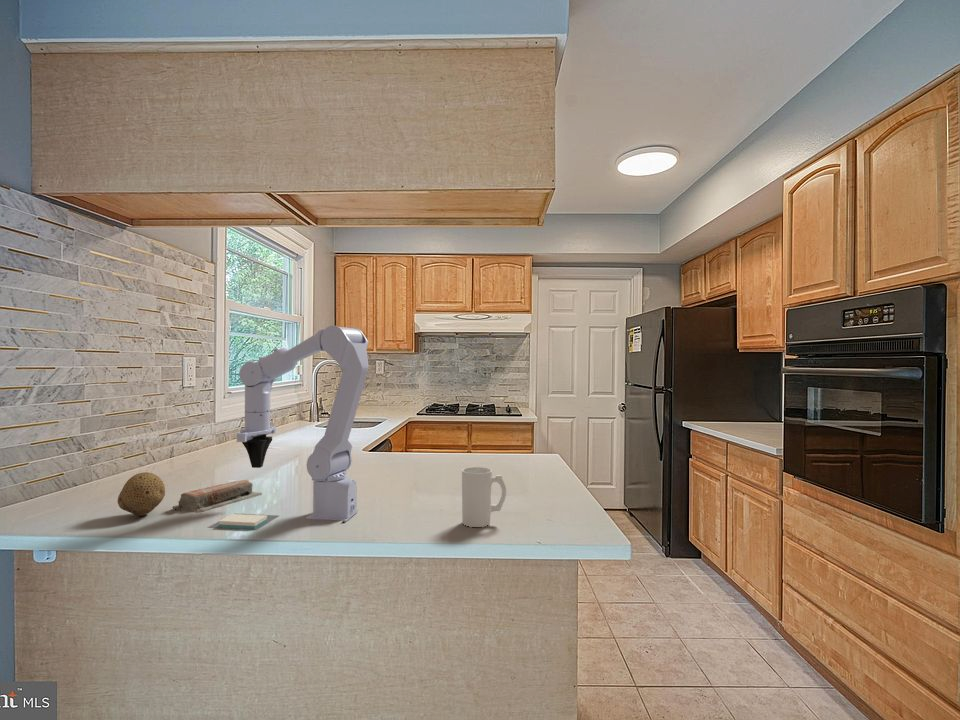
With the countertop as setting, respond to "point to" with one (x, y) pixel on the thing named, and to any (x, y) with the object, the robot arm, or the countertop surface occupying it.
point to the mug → (479, 496)
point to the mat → (269, 519)
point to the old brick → (216, 496)
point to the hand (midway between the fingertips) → (257, 467)
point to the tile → (243, 521)
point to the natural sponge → (141, 494)
